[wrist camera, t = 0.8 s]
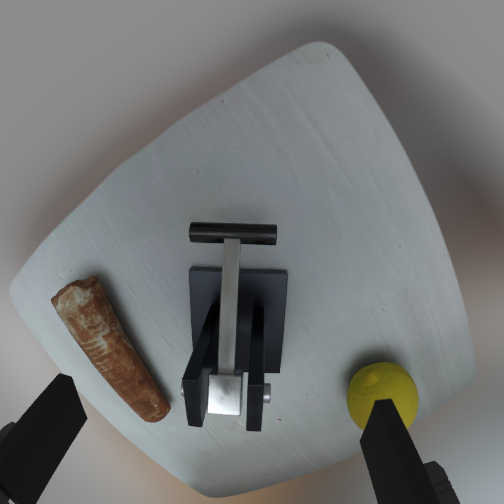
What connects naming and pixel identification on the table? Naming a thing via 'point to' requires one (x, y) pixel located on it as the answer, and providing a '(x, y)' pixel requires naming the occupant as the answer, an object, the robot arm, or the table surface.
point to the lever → (229, 307)
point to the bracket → (248, 337)
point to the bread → (109, 346)
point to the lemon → (382, 392)
